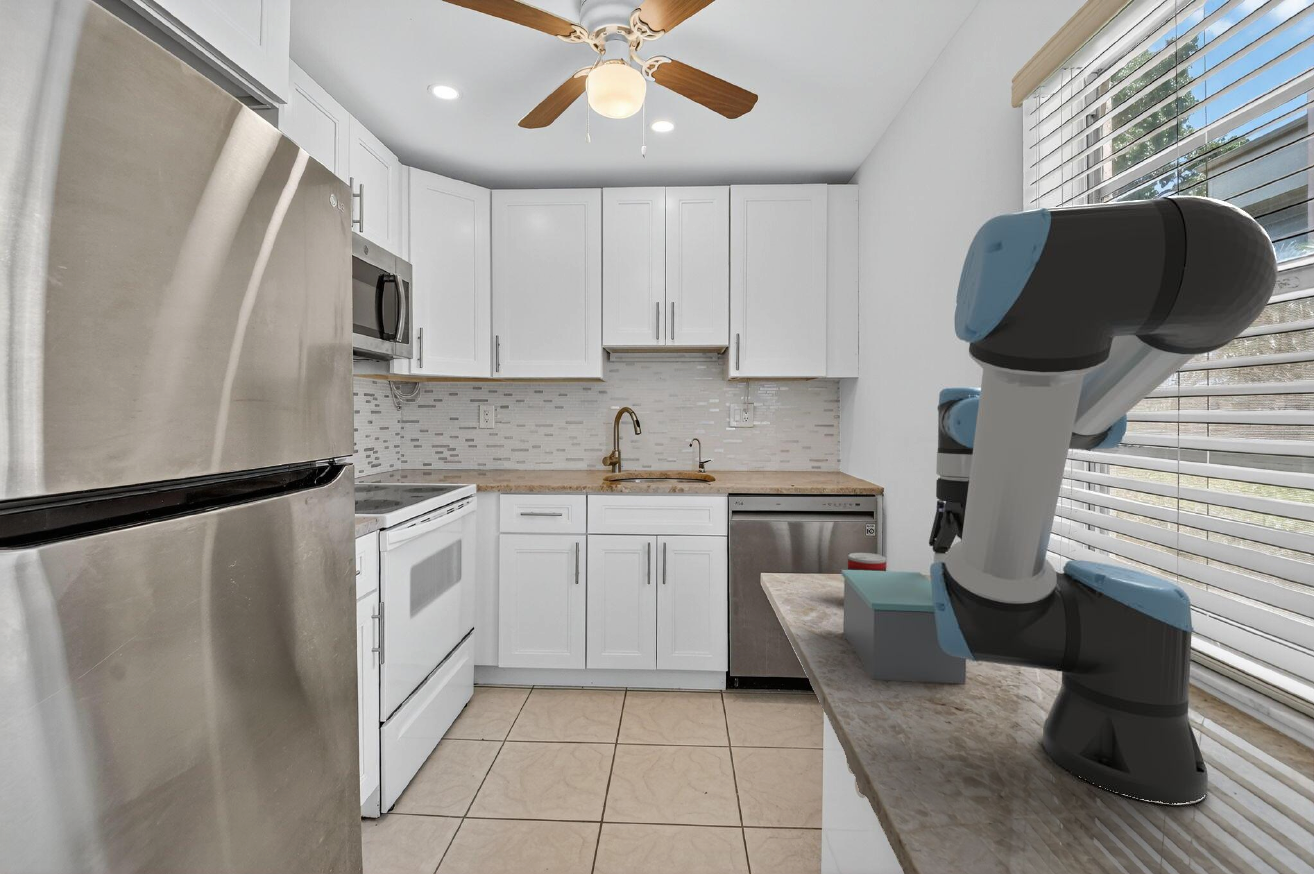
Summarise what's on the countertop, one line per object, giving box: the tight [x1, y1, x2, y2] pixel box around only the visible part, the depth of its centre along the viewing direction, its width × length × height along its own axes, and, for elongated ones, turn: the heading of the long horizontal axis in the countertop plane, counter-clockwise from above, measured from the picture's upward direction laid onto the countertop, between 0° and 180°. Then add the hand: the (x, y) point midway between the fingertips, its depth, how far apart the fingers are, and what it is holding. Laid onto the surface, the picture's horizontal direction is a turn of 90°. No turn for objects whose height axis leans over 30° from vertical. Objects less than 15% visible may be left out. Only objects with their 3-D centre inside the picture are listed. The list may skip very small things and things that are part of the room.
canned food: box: [847, 552, 887, 571], centre depth 127 cm, size 8×8×11 cm
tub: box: [842, 577, 967, 685], centre depth 99 cm, size 20×14×11 cm
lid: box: [840, 569, 934, 612], centre depth 99 cm, size 21×20×8 cm
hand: (957, 600), depth 98 cm, fingers open, 13 cm apart
